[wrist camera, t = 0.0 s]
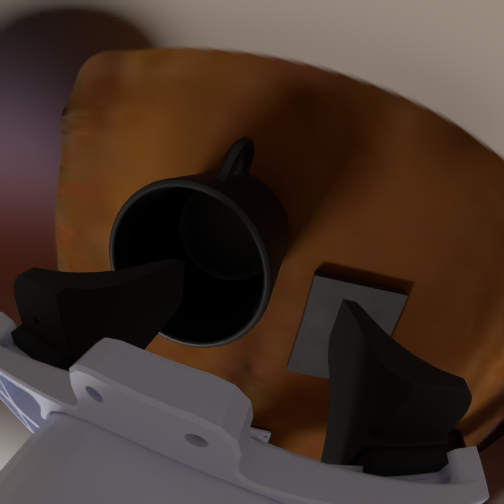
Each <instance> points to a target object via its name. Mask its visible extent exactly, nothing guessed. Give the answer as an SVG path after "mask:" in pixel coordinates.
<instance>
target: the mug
mask: <svg viewBox="0 0 504 504" xmlns="http://www.w3.org/2000/svg"><path fill="white" fill-rule="evenodd" d="M253 155H254V143H253V141H252V140H251V139H249V138H247V137H243V138H241V139H239V140H237V141H236V142H235V143H234V144H233V145H232V146H231V147H230V149H229V150H228V152H227V153H226V155H225V157H224V159H223V161H222V163H221V165H220V167H219V170H218V171H216V172H209V173H202V174H195V175H188V176H182V177H176V178H170V179H164V180H160V181H156V182H153V183H151V184H149V185H147V186H145V187H143V188H141V189H140V190H138V191H137V192H136V193H134V194H133V195H132V196H131V197H130V198H129V199H128V200H127V201H126V202H125V204H124V205H123V206H122V208H121V209H120V211H119V213H118V214H117V216H116V219H115V221H114V224H113V227H112V230H111V235H110V243H109V257H110V265H111V270H112V271H114V270H120V269H125V268H130V267H135V266H140V265H144V264H148V263H153V262H157V261H161V260H167V259H175V260H179V261H183V262H185V267H184V284H183V301H182V302H181V304H180V306H179V307H178V309H177V311H176V312H175V314H174V315H173V317H172V318H171V319H170V320H169V321H168V322H167V324H166V325H165V326H164V327H163V328H162V329H161V331H160V332H159V333H158V334H159V335H160V336H162V337H164V338H166V339H168V340H170V341H173V342H175V343H178V344H182V345H185V346H190V347H198V348H210V347H218V346H222V345H226V344H229V343H231V342H233V341H235V340H237V339H239V338H241V337H242V336H244V335H245V334H247V333H248V332H249V331H250V330H251V329H252V328H253V327H254V326H255V325H256V324H257V323H258V322H259V320H260V319H261V317H262V315H263V314H264V312H265V310H266V308H267V305H268V303H269V300H270V297H271V294H272V291H273V288H274V285H275V282H276V279H277V276H278V273H279V269H280V266H281V263H282V260H283V257H284V254H285V251H286V247H287V242H288V223H287V218H286V214H285V211H284V209H283V207H282V205H281V203H280V201H279V199H278V198H277V197H276V195H275V194H274V193H273V191H272V190H271V189H270V188H269V187H268V186H267V185H265V184H264V183H263V182H261V181H260V180H258V179H257V178H255V177H253V176H251V175H249V170H250V167H251V164H252V160H253ZM238 163H239V164H238ZM237 165H238V167H237Z"/></svg>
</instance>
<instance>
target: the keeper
mask: <svg viewBox="0 0 504 504" xmlns="http://www.w3.org/2000/svg"><path fill="white" fill-rule="evenodd" d="M407 297H408V295H407V293H406V292H405V290H401V289H396V288H392V287H387V286H383V285H378V284H374V283H369V282H364V281H360V280H355V279H351V278H346V277H342V276H337V275H333V274H328V273H324V272H319V271H315V272H314V276H313V279H312V283H311V287H310V291H309V294H308V298H307V301H306V305H305V308H304V312H303V315H302V319H301V322H300V325H299V329H298V332H297V335H296V338H295V342H294V345H293V348H292V351H291V354H290V357H289V361H288V364H287V369H286V371H291V372H295V373H300V374H305V375H311V376H316V377H321V378H327V379H329V368H328V346H329V336H330V333H331V331H332V328H333V325H334V323H335V320H336V317H337V314H338V311H339V308H340V306H341V303H342V300H343V299H346V300H350V301H355V302H357V303H358V304H359V305H360V306H361V307H362V308H363V309H364V310H365V311H366V312H367V313H368V314H369V316H370V317H371V318H372V319H373V320H374V321H375V322H376V323H377V324H378V325H379V326H380V327H381V328H382V329H383V330H384V331H385V332H386V333H387V334H388V335H389V336H391V334H392V331H393V329H394V327H395V325H396V323H397V320H398V318H399V316H400V314H401V311H402V309H403V307H404V304H405V302H406V299H407Z"/></svg>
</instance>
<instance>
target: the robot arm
mask: <svg viewBox="0 0 504 504" xmlns="http://www.w3.org/2000/svg"><path fill="white" fill-rule="evenodd" d="M184 267H185V262H183V261H179V260H175V259H167V260H161V261H157V262H153V263H148V264H144V265H140V266H135V267H130V268H125V269H120V270H114V271H105V272H87V273H74V272H60V271H52V270H47V269H41V268H31V269H29V270H27V271H25V272H23V273H21V274H19V275H17V277H16V278H15V281H14V294H15V300H16V304H17V307H18V311H19V315H20V318H21V321H22V325H20V326H19V327H18V328H17V326H16V324H15V323H14V322H13V321H12V320H11V319H10V318H9V317H8V316H6V315H5V314H4V313H3V312H0V399H1V400H2V401H3V402H4V403H5V404H6V405H7V407H8V408H9V409H10V410H11V411H12V412H13V413H14V414H15V415H16V416H17V418H18V419H19V420H21V422H22V423H23V424H24V425H25V426H26V427H27V428H28V429H29V430H30V431H31V432H32V433H33V434H32V435H31V437H30V438H29V439H28V440H27V441H26V442H25V444H23V446H22V447H21V448H20V449H19V450H18V451H17V452H16V454H15V455H14V456H13V457H12V458H11V459H10V460H9V462H8V463H7V464H6V465H5V466H4V468H3V469H2V470H1V471H0V504H482V503H483V502H485V501H486V500H487V499H488V498H489V493H488V489H487V484H486V480H485V476H484V472H483V469H482V465H481V461H480V458H479V455H478V451H477V448H476V446H471V447H465V448H459V449H454V450H452V451H450V452H448V453H446V449H445V446H446V445H447V444H448V443H449V438H448V433H449V432H450V431H451V430H452V429H453V428H454V427H455V425H456V424H457V423H458V422H459V421H460V420H461V419H462V418H463V416H464V415H465V413H466V412H467V411H468V409H469V406H470V404H471V400H472V395H471V393H470V390H469V388H468V386H467V384H466V382H465V380H464V379H463V378H461V377H458V376H455V375H453V374H450V373H447V372H445V371H442V370H440V369H438V368H436V367H434V366H432V365H430V364H428V363H426V362H425V361H423V360H421V359H420V358H418V357H416V356H415V355H413V354H412V353H410V352H409V351H407V350H406V349H405V348H403V347H402V346H401V345H400V344H398V343H397V342H396V341H395V340H394V339H392V338H391V337H390V336H389V335H388V334H387V333H386V332H385V331H384V330H383V329H382V328H381V327H380V326H379V325H378V324H377V323H376V322H375V321H374V320H373V319H372V318H371V317H370V316H369V314H368V313H367V312H366V311H365V310H364V309H363V308H362V307H361V306H360V305H359V304H358V303H357V302H355V301H350V300H346V299H343V300H342V303H341V306H340V308H339V311H338V314H337V317H336V320H335V323H334V325H333V328H332V331H331V333H330V336H329V346H328V368H329V386H330V405H329V415H328V423H327V430H326V437H325V443H324V448H323V454H322V459H321V462H320V461H317V460H314V459H311V458H307V457H304V456H302V455H299V454H296V453H293V452H290V451H287V450H285V449H282V448H279V447H277V446H274V445H272V444H269V443H268V440H269V438H270V436H271V432H269V431H266V430H261V429H257V428H253V427H250V425H251V422H252V419H253V410H252V404H251V401H250V400H249V399H248V398H247V397H246V396H245V395H244V394H243V393H242V391H241V390H240V389H239V388H238V387H237V386H236V385H234V384H232V383H230V382H228V381H226V380H224V379H222V378H220V377H218V376H216V375H213V374H210V373H207V372H204V371H201V370H198V369H195V368H192V367H189V366H186V365H183V364H180V363H177V362H174V361H171V360H169V359H166V358H163V357H161V356H158V355H155V354H153V353H150V352H148V351H145V348H146V347H147V346H148V344H149V343H150V342H151V341H152V340H153V339H154V337H155V336H156V335H157V334H158V333H159V332H160V331H161V329H162V328H163V327H164V326H165V325H166V324H167V322H168V321H169V320H170V319H171V318H172V317H173V315H174V314H175V312H176V311H177V309H178V307H179V306H180V304H181V302H182V301H183V284H184Z"/></svg>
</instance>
